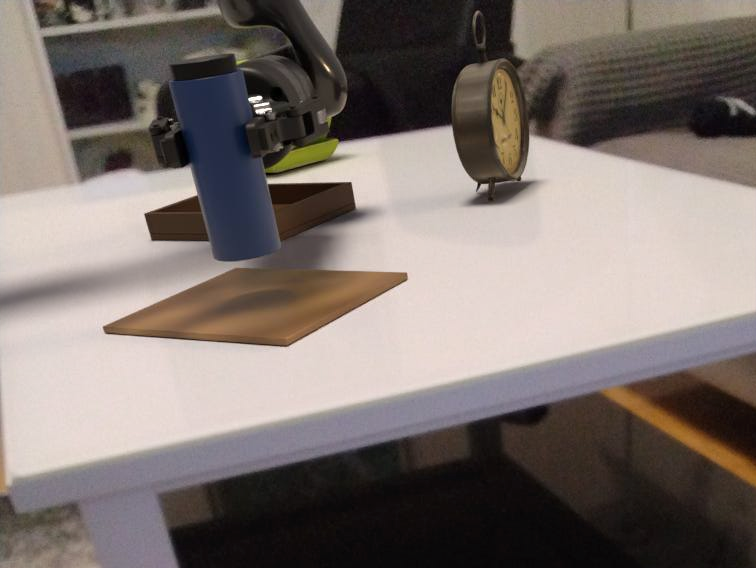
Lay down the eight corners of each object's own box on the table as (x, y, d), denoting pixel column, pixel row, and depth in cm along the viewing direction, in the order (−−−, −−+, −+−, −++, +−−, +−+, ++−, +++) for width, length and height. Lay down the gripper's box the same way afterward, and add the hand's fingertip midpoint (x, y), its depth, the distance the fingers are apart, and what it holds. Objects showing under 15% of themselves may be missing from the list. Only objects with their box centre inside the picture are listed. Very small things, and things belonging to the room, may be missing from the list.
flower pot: (353, 156, 137) (335, 48, 130) (273, 180, 129) (248, 65, 122) (287, 154, 145) (266, 52, 138) (208, 176, 137) (181, 69, 130)
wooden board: (104, 332, 79) (102, 326, 79) (237, 273, 90) (235, 267, 90) (286, 346, 71) (285, 338, 70) (408, 278, 82) (407, 272, 81)
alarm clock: (502, 203, 101) (483, 13, 92) (452, 206, 103) (429, 19, 94) (536, 179, 109) (522, 2, 100) (489, 182, 111) (471, 8, 102)
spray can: (207, 253, 79) (157, 63, 72) (271, 238, 81) (229, 51, 74) (222, 265, 75) (171, 66, 68) (289, 250, 77) (246, 53, 70)
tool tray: (151, 239, 107) (143, 213, 105) (232, 208, 116) (226, 184, 114) (279, 241, 99) (273, 213, 97) (356, 208, 108) (351, 181, 106)
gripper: (163, 73, 84) (96, 101, 70) (334, 49, 83) (301, 73, 69) (188, 171, 88) (130, 216, 74) (351, 150, 87) (324, 191, 73)
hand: (213, 146), depth 72 cm, fingers closed on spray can, 5 cm apart
